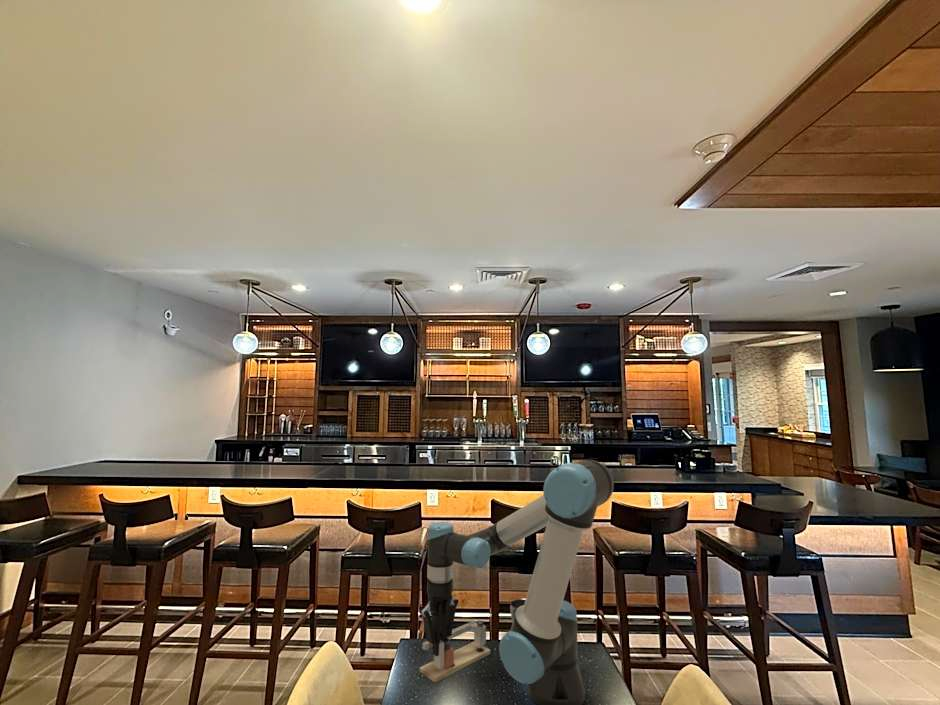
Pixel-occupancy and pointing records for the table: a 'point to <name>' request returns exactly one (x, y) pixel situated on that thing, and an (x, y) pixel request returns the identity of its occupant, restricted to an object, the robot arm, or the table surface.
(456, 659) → the bolt plate
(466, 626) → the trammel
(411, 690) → the table surface
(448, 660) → the slide leg
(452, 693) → the table surface
